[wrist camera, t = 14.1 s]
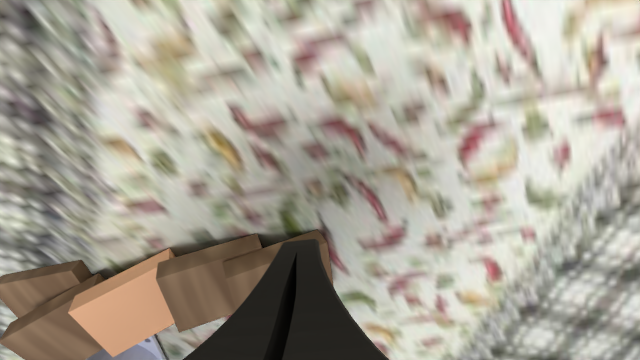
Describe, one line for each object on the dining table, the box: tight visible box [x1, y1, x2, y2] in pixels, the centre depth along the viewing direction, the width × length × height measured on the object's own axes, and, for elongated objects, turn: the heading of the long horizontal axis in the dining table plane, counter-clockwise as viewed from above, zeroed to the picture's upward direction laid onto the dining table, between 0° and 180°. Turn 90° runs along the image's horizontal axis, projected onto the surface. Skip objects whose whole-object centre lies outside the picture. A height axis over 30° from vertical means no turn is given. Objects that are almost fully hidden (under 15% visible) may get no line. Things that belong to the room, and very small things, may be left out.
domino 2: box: [0, 273, 106, 360], centre depth 26 cm, size 2×5×7 cm
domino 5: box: [222, 230, 333, 310], centre depth 24 cm, size 2×5×7 cm
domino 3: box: [68, 248, 175, 357], centre depth 25 cm, size 2×5×7 cm
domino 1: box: [0, 260, 93, 319], centre depth 28 cm, size 2×5×7 cm
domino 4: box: [156, 234, 262, 332], centre depth 25 cm, size 2×5×7 cm
